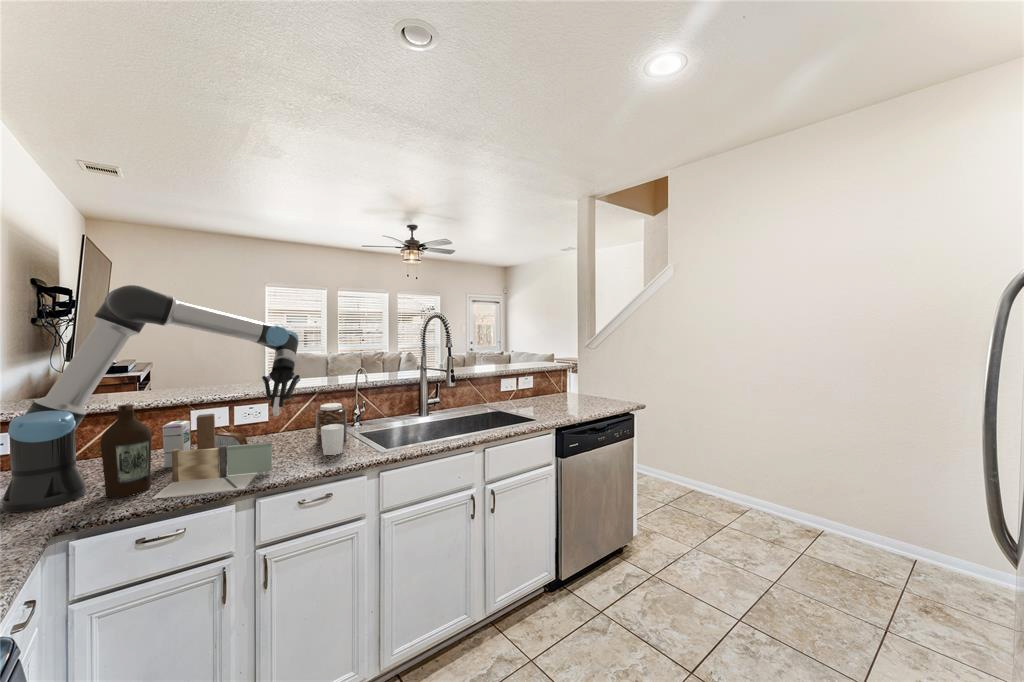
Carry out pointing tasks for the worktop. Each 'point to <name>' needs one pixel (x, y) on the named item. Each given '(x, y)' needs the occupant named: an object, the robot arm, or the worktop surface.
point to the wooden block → (205, 431)
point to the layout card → (206, 486)
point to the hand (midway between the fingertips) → (275, 414)
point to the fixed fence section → (199, 464)
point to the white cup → (332, 439)
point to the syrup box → (175, 439)
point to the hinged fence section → (249, 458)
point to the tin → (229, 439)
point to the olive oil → (126, 455)
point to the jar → (330, 418)
